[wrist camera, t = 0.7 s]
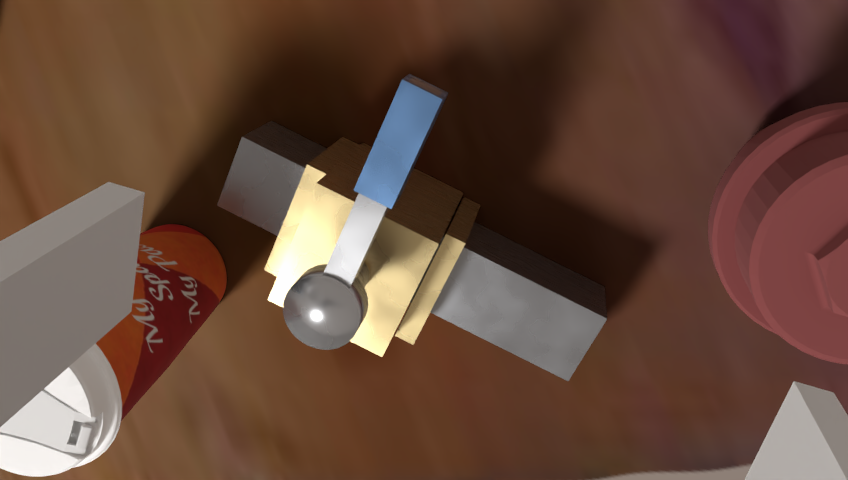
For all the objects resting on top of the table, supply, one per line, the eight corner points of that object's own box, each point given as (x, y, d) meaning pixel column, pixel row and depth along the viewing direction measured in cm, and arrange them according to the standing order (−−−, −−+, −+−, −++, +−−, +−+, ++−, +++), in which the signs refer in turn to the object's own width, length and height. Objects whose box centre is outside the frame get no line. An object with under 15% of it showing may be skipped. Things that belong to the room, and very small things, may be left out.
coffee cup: (264, 242, 45) (124, 370, 31) (222, 355, 48) (78, 517, 34) (132, 179, 45) (-64, 279, 31) (99, 296, 48) (-93, 434, 35)
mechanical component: (667, 254, 41) (715, 61, 38) (868, 290, 40) (938, 93, 36) (700, 371, 30) (774, 109, 26) (984, 425, 28) (1103, 158, 25)
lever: (284, 312, 34) (272, 327, 32) (390, 64, 29) (381, 69, 28) (350, 346, 34) (341, 362, 32) (468, 102, 29) (462, 109, 28)
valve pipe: (240, 202, 45) (142, 274, 35) (278, 100, 42) (185, 146, 32) (558, 361, 44) (552, 480, 34) (616, 268, 42) (627, 367, 32)
